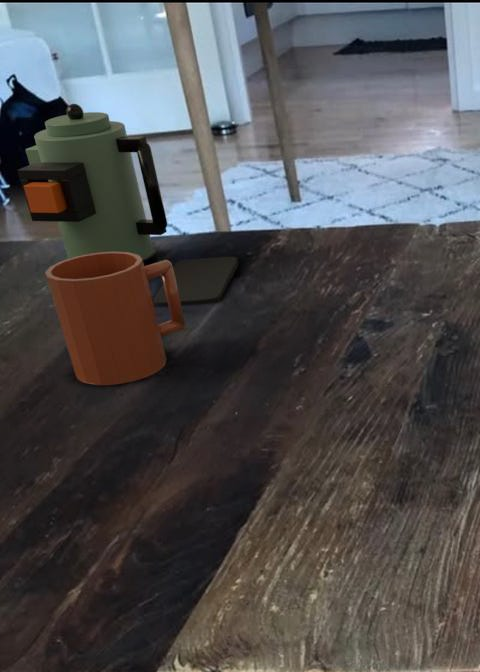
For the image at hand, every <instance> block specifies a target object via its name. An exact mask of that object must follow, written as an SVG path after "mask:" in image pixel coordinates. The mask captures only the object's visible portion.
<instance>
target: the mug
mask: <svg viewBox="0 0 480 672" xmlns="http://www.w3.org/2000/svg"><path fill="white" fill-rule="evenodd" d="M173 267H174V265H173V264H172V262H171V261H170V260H168V259H162V260H159V261H157V262H156V263H153V264H150V265H147V266H144V263H143V260H142V258H141V257H140V256H139V255H137V254H133V253H130V252H101V253H92V254H87V255H81V256H77V257H73V258H70V259H68V258H66V259H64V260H61V261H59V262H56V263H55V264H53V265H51V266H49V267H48V268H47V270H46V271H45V276H46V280H47V284H48V287H49V291H50V295H51V298H52V301H53V304H54V306H55V311H56V315H57V318H58V321H59V325H60V329H61V332H62V335H63V338H64V342H65V345H66V348H67V352H68V356H69V359H70V362H71V366H72V369H73V373H74V375H75V377H76V380H78V381H79V382H82V383H83V384H87V385H93V386H94V385H95V386H111V385H112V386H113V385H114V386H115V385H120V384H127V383H132V382H135V381H139V380H142V379H146V378H147V377H150V376H152V375H154V374H156V373H158V372H159V371H161V370H162V369H163V368H164V367H165V365H166V363H167V356H166V350H165V348H164V343H163V339H162V338H164V337H166V336H169V335H172V334H175V333H178V332H180V331H183V330H185V328H186V319H185V315H184V312H183V311H184V310H183V305H181V302H180V297H179V293H178V288H177V284H176V279H175V275H174V270H173ZM158 277H161V279H162V285H163V284H164V289H165V293H166V297H167V302H168V306H167V307H168V310H169V314H170V319H169V320H167V321H165V322H161V323H158V318H157V314H156V310H155V305H154V304H153V298H152V297H153V296H152V292H151V289H150V285H149V280H153V279H155V278H158Z"/></svg>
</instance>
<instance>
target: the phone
mask: <svg viewBox="0 0 480 672" xmlns="http://www.w3.org/2000/svg"><path fill="white" fill-rule="evenodd" d="M238 266H239V260H238V258H237V257H236V256H221V257H220V256H219V257H218V256H217V257H207V258H204V257H203V258H193V259H183V260H179V261H177V262H175V263H174V265H173V270H174V275H175V279H176V284H177V288H178V293H179V297H180V302H181V306H185V305H186V306H187V305H200V304H210V303H211V304H212V303H215V302H218V301H220V300H221V299H222V297H223V295H224V293H225V291H226V288H227V287H228V284H229V283H230V282H231V280H232V279H233V277H234V275H235V272H236V270H237V269H238ZM152 301H153V305H154V307H169V306H168V302H167V297H166V293H165V289H164V284H163V283H162V284H161V286H160V288H159V290H158V291H157V293H156V294H155V296H154V297H153V298H152Z"/></svg>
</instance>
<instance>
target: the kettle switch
mask: <svg viewBox="0 0 480 672" xmlns="http://www.w3.org/2000/svg"><path fill="white" fill-rule="evenodd" d="M24 190H25V193H26V196H27V200H28V203H29V207H30V210H31V212H32V213H59V212H62V211H64V210H66V209H68V208H67V204H66V200H65V197H64V193H63V189H62V186H61V182H32V183H29V184H27V185H24Z"/></svg>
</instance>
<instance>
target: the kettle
mask: <svg viewBox="0 0 480 672" xmlns="http://www.w3.org/2000/svg"><path fill="white" fill-rule="evenodd" d="M44 126H45V129H43V130H40V131H38V132H36V133H35V134H34V136H33V137H34V140H35V144H36V145H33V146H31V147H28V148H25V153H26V156H27V160H28V164H29V165H27V166H24V167H21V168H19V169H17V173H18V177H19V180H20V184H21V186H22V190H23V194H24V197H25V200H26V204H27V207H28V211H29V214H30V218H31V220H32V222H57V224H58V227H59V231H60V235H61V238H62V241H63V246H64V249H65V253H66V256H67V259H70V258H73V257H77V256H81V255H87V254H92V253H101V252H130V253H133V254H137V255H139V256H140V257H141V258H142V260H143V263H144V266H147V265H150V264H153V263H156V262H158V260H159V257H158V252H157V249H156V248H155V246H153V242H152V237H151V236H162V235H164V234H165V233H167V232H168V231H167V227H168V220H167V219H168V218H167V216H166V210H165V206H164V202H163V197H162V192H161V188H160V184H159V179H158V174H157V169H156V165H155V161H154V157H153V153H152V148H151V146H150V144H149V143H148V140H147V137H146V136H144V135H139V136H137V135H135V136H134V135H133V136H132V135H131V136H128V135H127V131H126V126H125V124H124V122H120V121H116V120H115V121H113V120H110V117H109V114H107V113H106V112H98V111H95V112H94V111H92V112H84V110H83V108H82V107H81V106H80V105H79V104H77V103H71V104H69V105H68V106H67V108H66V114H65V115H59V116H55V117H52V118H49V119H47V120H46V121H44ZM132 153H136V155H137V159H138V164H139V167H140V172H141V177H142V181H143V185H144V190H145V194H146V199H147V202H148V208H149V211H150V216H151V219H147V216H146V211H145V207H144V203H143V199H142V195H141V191H140V186H139V182H138V177H137V173H136V169H135V165H134V160H133V156H132ZM32 182H61V186H62V189H63V193H64V197H65V200H66V204H67V208H68V209H66V210H64V211H62V212H59V213H32V212H31V210H30V207H29V203H28V200H27V196H26V193H25V190H24V185H27V184H29V183H32Z"/></svg>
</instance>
